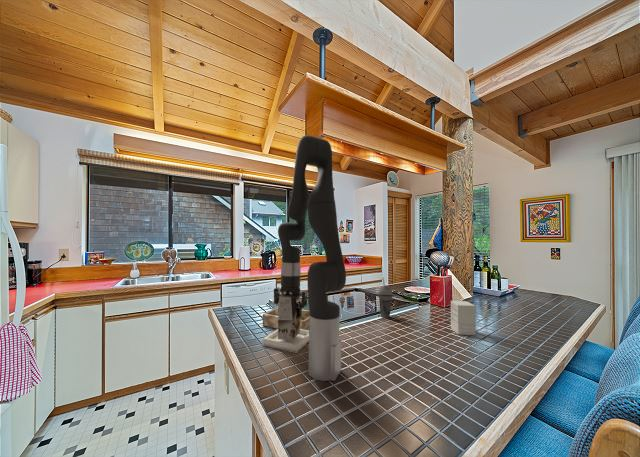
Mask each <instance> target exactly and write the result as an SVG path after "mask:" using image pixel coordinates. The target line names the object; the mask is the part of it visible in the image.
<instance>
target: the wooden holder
mask: <svg viewBox="0 0 640 457" xmlns="http://www.w3.org/2000/svg"><path fill="white" fill-rule="evenodd" d="M263 326H264V327H268V328H274V329H278V316H275V308H273V309H271V310H269V311H266V312H264V313H263V314H262V327H263ZM300 329H303V330H309V310H308V309H302V316H301V317H300Z"/></svg>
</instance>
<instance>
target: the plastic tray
mask: <svg viewBox="0 0 640 457" xmlns="http://www.w3.org/2000/svg"><path fill="white" fill-rule="evenodd" d="M262 340H263V341H262V342H263V344H262V345H263V346H265V347H269V348H273V349H277V350H282V351H285V352H290V353H295V354H297V353H298V352H300V350H301V349H302V348H304V347H305V346H306V345H307V344H309V330H303V329H300V332H299V334H298V335H297V336H296V338H295V339H294V340H293V341H288V340H280V339H278V328H276V329H275V330H274V331H273V332H271V333H270V334H267V335H266V336H265V337H264V338H263V339H262Z"/></svg>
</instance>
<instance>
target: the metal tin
mask: <svg viewBox="0 0 640 457" xmlns="http://www.w3.org/2000/svg"><path fill="white" fill-rule="evenodd" d="M274 309H275V316H278V305H277V306H275V307H274Z"/></svg>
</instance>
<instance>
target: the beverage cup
mask: <svg viewBox="0 0 640 457" xmlns="http://www.w3.org/2000/svg"><path fill="white" fill-rule="evenodd" d="M382 284H383V286H381V287H380V288H379V289H378V293H377V294H378V298H379V302H378V303H379V313H380V317H381V318H383V319H390V318H391V317H390V316H391V310H392V309H391V307H392V299H393V290H392V289H391V288H390V287H389V286H387V285H385V278H384V277H382Z"/></svg>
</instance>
